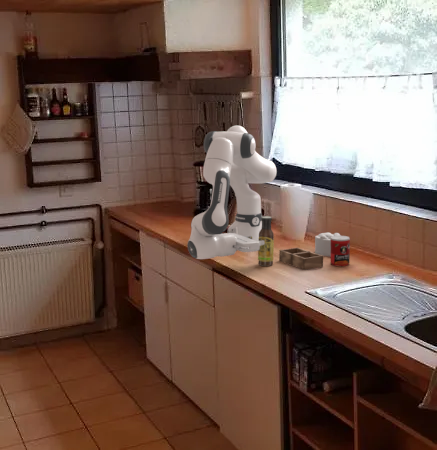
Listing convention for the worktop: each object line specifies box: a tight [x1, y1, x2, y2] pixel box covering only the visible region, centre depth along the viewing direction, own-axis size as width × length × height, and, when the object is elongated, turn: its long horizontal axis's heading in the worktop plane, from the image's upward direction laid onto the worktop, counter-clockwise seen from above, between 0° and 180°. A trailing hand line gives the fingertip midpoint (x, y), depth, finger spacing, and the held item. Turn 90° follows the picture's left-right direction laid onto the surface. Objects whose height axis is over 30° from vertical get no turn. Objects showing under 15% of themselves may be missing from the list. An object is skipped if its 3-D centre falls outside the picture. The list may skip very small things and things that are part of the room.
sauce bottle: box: [257, 215, 275, 267], centre depth 291 cm, size 6×6×20 cm
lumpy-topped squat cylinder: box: [314, 231, 342, 257], centre depth 309 cm, size 10×13×9 cm
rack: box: [278, 247, 324, 271], centre depth 293 cm, size 18×9×4 cm, turn 28°
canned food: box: [330, 235, 351, 267], centre depth 290 cm, size 8×8×11 cm
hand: (257, 240), depth 289 cm, fingers open, 8 cm apart
